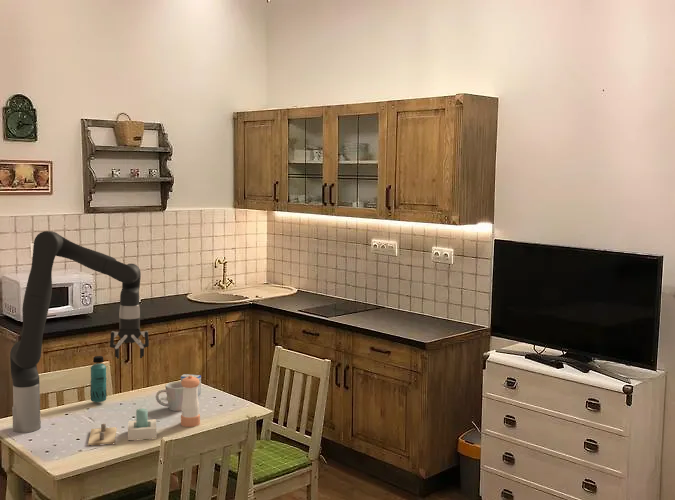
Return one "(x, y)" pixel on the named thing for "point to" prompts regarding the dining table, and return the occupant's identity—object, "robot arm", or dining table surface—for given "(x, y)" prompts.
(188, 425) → the pepper shaker
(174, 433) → the dining table surface
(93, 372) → the beverage bottle
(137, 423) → the pin
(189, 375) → the medicine box
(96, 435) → the board
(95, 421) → the dining table surface
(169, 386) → the mug
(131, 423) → the socket block
